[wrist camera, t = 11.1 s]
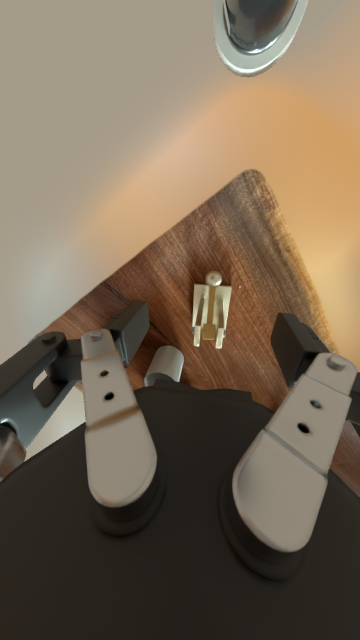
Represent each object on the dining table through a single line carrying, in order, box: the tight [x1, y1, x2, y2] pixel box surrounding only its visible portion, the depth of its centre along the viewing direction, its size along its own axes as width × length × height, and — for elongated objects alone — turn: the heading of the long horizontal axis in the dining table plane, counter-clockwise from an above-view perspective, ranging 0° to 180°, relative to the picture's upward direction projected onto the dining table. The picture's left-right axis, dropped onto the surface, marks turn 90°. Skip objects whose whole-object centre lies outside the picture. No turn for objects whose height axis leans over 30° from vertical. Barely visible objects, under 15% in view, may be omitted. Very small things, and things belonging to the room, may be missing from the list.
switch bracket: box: [192, 283, 232, 349], centre depth 39 cm, size 11×8×13 cm
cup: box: [144, 346, 184, 387], centre depth 50 cm, size 8×8×10 cm
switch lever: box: [202, 271, 222, 340], centre depth 35 cm, size 13×3×3 cm
